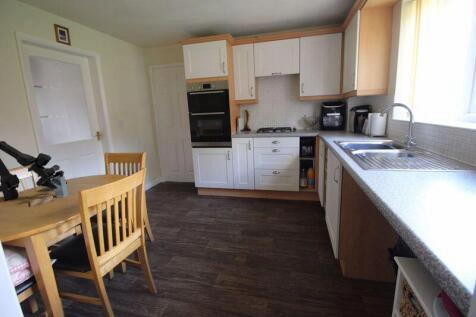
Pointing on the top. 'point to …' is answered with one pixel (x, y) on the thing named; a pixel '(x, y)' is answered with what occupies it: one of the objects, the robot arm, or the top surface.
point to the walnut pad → (41, 201)
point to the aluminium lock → (60, 186)
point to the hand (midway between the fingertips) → (62, 186)
